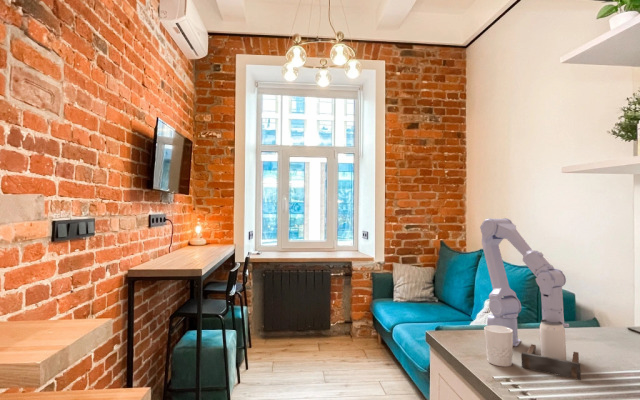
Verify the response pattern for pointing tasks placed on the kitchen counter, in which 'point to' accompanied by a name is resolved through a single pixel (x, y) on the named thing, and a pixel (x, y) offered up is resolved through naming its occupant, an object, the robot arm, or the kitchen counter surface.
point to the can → (552, 340)
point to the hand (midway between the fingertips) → (554, 352)
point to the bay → (551, 364)
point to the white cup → (499, 345)
